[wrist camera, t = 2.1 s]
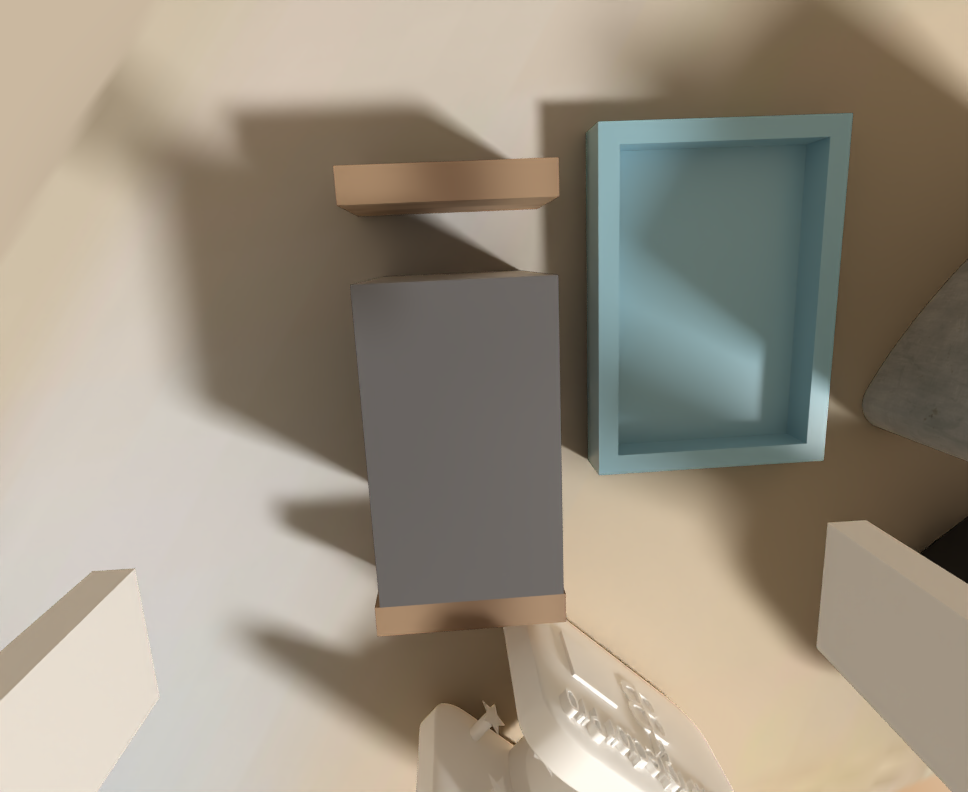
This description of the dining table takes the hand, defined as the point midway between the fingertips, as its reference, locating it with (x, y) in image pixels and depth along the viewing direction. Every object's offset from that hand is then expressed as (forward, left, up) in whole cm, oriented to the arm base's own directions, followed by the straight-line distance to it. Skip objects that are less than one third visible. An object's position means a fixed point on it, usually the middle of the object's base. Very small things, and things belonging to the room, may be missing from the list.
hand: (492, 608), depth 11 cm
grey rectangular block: (0, 0, -21) cm, 21 cm away
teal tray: (+13, +4, -21) cm, 25 cm away
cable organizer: (+5, -20, -22) cm, 30 cm away
